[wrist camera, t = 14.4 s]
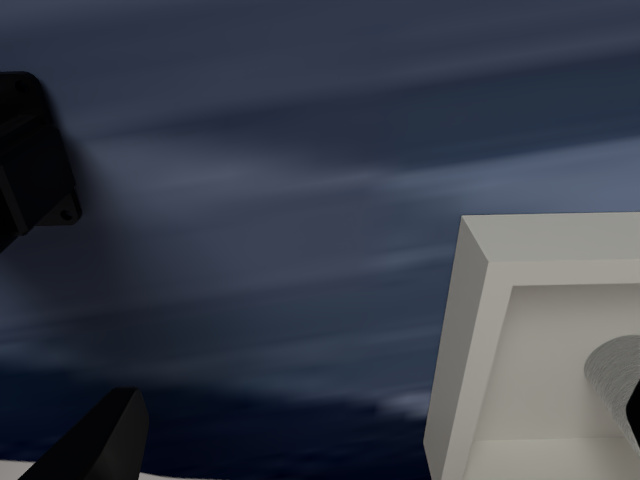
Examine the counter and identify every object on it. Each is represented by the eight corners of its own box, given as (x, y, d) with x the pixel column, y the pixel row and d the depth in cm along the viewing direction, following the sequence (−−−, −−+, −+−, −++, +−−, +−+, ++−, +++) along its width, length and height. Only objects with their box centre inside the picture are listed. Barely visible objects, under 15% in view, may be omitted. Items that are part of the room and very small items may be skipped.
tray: (423, 442, 30) (436, 500, 27) (461, 215, 21) (488, 261, 18) (679, 436, 30) (723, 493, 27) (825, 208, 21) (917, 253, 18)
